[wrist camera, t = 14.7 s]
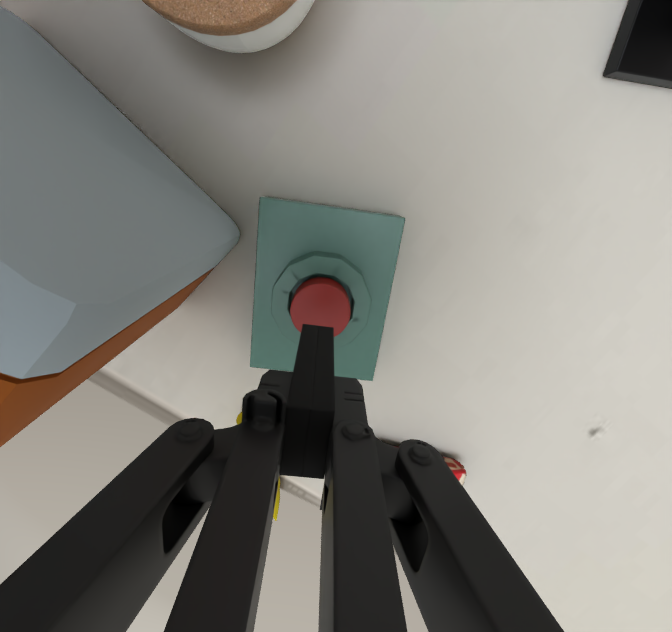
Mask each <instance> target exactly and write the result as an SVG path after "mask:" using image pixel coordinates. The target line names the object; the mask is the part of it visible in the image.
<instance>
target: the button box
mask: <svg viewBox="0 0 672 632" xmlns="http://www.w3.org/2000/svg"><path fill="white" fill-rule="evenodd" d="M404 223H405V218H404V217H401V216H399V215H392V214H385V213H378V212H371V211H364V210H357V209H350V208H343V207H336V206H330V205H323V204H316V203H309V202H302V201H295V200H288V199H281V198H274V197H267V196H265V197H260V202H259V219H258V236H257V253H256V271H255V288H254V305H253V323H252V340H251V357H250V367H256V368H265V369H273V370H282V371H291V372H293V370H294V365H295V360H296V355H297V350H298V345H299V340H300V335H301V333H300V332H299V331H298V330H297V329H296V327H295V326H294V324H293V322H292V320H291V315H290V307H291V303H292V300H293V297H294V294H295V292H296V290H297V289H298V287H299V286H300V285H301V284H302V283H304V282H305V281H307V280H309V279H312V278H316V277H326V278H330V279H333V280H335V281H336V282H338V283H339V284H340V285H342V287H343V288H344V289H345V290H346V292H347V294H348V297H349V302H350V309H351V314H350V320H349V322H348V324H347V326H346V328H345V329H344V330H343V331H342V332H341V333H340V334H338V335H337V336H335V337H334V376H339V377H348V378H356V379H360V380H369V381H373V376H374V371H375V366H376V362H377V357H378V352H379V347H380V342H381V337H382V332H383V327H384V322H385V317H386V312H387V307H388V302H389V297H390V292H391V287H392V282H393V277H394V272H395V267H396V262H397V257H398V252H399V247H400V242H401V238H402V233H403V228H404Z"/></svg>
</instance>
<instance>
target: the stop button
mask: <svg viewBox="0 0 672 632" xmlns="http://www.w3.org/2000/svg"><path fill="white" fill-rule="evenodd" d="M350 314H351V309H350V302H349V297H348V294H347V292H346V290H345V289H344V288H343V287H342V285H340V284H339V283H338V282H336V281H335V280H333V279H330V278H326V277H316V278H312V279H309V280H307V281H305V282H304V283H302V284H301V285H300V286H299V287H298V289H297V290H296V292H295V294H294V297H293V300H292V303H291V307H290V315H291V320H292V322H293V324H294V326H295V327H296V329H297V330H298V331H299V332H300V333H301V330H302V325H303V324H309V325H317V326H326V327H334V337H335V336H337V335H338V334H340V333H341V332H342V331H343V330H344V329H345V328H346V326H347V324H348V322H349V320H350Z"/></svg>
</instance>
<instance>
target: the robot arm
mask: <svg viewBox="0 0 672 632" xmlns="http://www.w3.org/2000/svg"><path fill="white" fill-rule="evenodd" d="M279 475H287V476H298V477H309V478H319V479H324V476H325V482H324V488H323V494H322V500H321V506H320V510H322V534H321V535H322V536H321V566H320V600H319V632H407V628H406V621H405V615H404V609H403V603H402V598H401V592H400V586H399V579H398V573H397V568H396V561H395V555H394V549H393V545H394V548H395V550H396V552H397V555H398V557H399V560H400V562H401V565H402V567H403V570H404V572H405V575H406V577H407V579H408V582H409V585H410V587H411V589H412V592H413V594H414V597H415V599H416V602H417V604H418V607H419V609H420V611H421V614H422V617H423V619H424V622H425V624H426V626H427V629H428V631H429V632H564V631H563V629H562V628H561V627H560V625H559V624H558V622H557V621H556V619H555V618H554V617H553V615H552V614H551V612H550V611H549V609H548V608H547V607H546V605H545V604H544V602H543V601H542V599H541V598H540V596H539V595H538V594H537V592H536V591H535V589H534V588H533V586H532V585H531V584H530V582H529V581H528V579H527V578H526V576H525V575H524V574H523V572H522V571H521V569H520V568H519V566H518V565H517V564H516V562H515V561H514V559H513V558H512V556H511V555H510V554H509V552H508V551H507V549H506V548H505V546H504V545H503V543H502V542H501V541H500V539H499V538H498V536H497V535H496V533H495V532H494V531H493V529H492V528H491V526H490V525H489V523H488V522H487V521H486V519H485V518H484V516H483V515H482V513H481V512H480V511H479V509H478V508H477V506H476V505H475V503H474V502H473V501H472V499H471V498H470V496H469V495H468V493H467V492H466V490H465V489H464V488H463V486H462V485H461V483H460V482H459V480H458V479H457V478H456V476H455V475H454V473H453V472H452V470H451V469H450V468H449V466H448V465H447V463H446V462H445V460H444V459H443V458H442V456H441V455H440V453H439V452H438V451H437V450H436V449H435V448H434V447H433V446H431V445H429V444H428V443H426V442H423V441H420V440H412V439H410V440H406V441H403V442H402V443H401V444H400V445H399V448H398V447H395V446H392V445H389V444H387V443H384V442H382V441H380V440H379V439H377V438H376V437H375V436H374V433H373V430H372V429H371V428H370V427H369V426H368V422H367V415H366V409H365V402H364V396H363V389H362V385H361V384H360V383H359V381H358V380H357V379H356V378H348V377H339V376H334V327H326V326H317V325H309V324H303V325H302V330H301V335H300V340H299V345H298V350H297V355H296V360H295V365H294V370H293V372H287V371H279V370H269V371H267V372H266V373H265V374H264V375H263V376H262V378H261V381H260V384H259V387H258V389H257V390H253V391H251V392H249V393H247V394H246V395H245V397H244V398H243V405H242V422H241V423H240V424H238V425H236V426H233V427H229V428H224V429H216V430H214V427H213V426H212V424H211V423H210V422H208V421H206V420H204V419H199V418H190V419H184V420H181V421H178V422H176V423H175V424H173V425H172V426H170V427H169V428H168V429H167V430H166V431H165V432H164V433H163V434H162V435H160V436H159V437H158V438H157V439H156V440H155V441H154V442H153V443H152V444H151V445H150V446H149V447H148V448H147V449H145V450H144V451H143V452H142V453H141V454H140V455H139V456H138V457H137V458H136V459H135V460H134V461H133V462H132V463H130V464H129V465H128V466H127V467H126V468H125V469H124V470H123V471H122V472H121V473H120V474H119V475H118V476H116V477H115V478H114V479H113V480H112V481H111V482H110V483H109V484H108V485H107V486H106V487H105V488H104V489H102V491H100V492H99V493H98V494H97V495H96V496H95V497H94V498H93V499H92V500H91V501H90V502H88V503H87V504H86V505H85V506H84V507H83V508H82V509H81V510H80V511H79V512H78V513H77V514H76V515H75V516H73V517H72V518H71V519H70V520H69V521H68V522H67V523H66V524H65V525H64V526H63V527H62V528H61V529H60V530H59V531H57V532H56V533H55V534H54V535H53V536H52V537H51V538H50V539H49V540H48V541H47V542H46V543H45V544H44V545H42V546H41V547H40V548H39V549H38V550H37V551H36V552H35V553H34V554H33V555H32V556H30V557H29V558H28V559H27V560H26V561H25V562H24V563H23V564H22V565H21V566H20V567H19V568H18V569H17V570H15V571H14V572H13V573H12V574H11V575H10V576H9V577H8V578H7V579H6V580H5V581H4V582H3V583H2V584H0V632H126V631H127V629H128V628H129V626H130V625H131V623H132V622H133V620H134V619H135V617H136V616H137V614H138V613H139V611H140V610H141V608H142V607H143V605H144V604H145V602H146V601H147V599H148V598H149V597H150V595H151V594H152V592H153V591H154V589H155V588H156V586H157V585H158V583H159V582H160V580H161V579H162V577H163V576H164V574H165V573H166V571H167V570H168V568H169V567H170V565H171V564H172V562H173V561H174V559H175V558H176V556H177V555H178V553H179V552H180V550H181V549H182V547H183V545H184V544H185V543H186V541H187V540H188V538H189V537H190V535H191V534H192V532H193V531H194V529H195V528H196V526H197V525H198V523H199V522H200V520H201V519H202V517H203V516H204V514H205V513H206V511H207V510H208V508H209V507H210V508H209V511H208V514H207V516H206V519H205V522H204V524H203V527H202V530H201V532H200V535H199V538H198V541H197V543H196V546H195V549H194V551H193V554H192V557H191V559H190V562H189V565H188V568H187V571H186V573H185V576H184V578H183V581H182V584H181V587H180V589H179V592H178V595H177V597H176V600H175V603H174V605H173V608H172V611H171V614H170V616H169V619H168V622H167V624H166V627H165V630H164V632H253V631H254V624H255V619H256V613H257V607H258V602H259V595H260V590H261V584H262V578H263V572H264V566H265V561H266V555H267V549H268V543H269V537H270V531H271V525H272V519H273V514H274V508H275V502H276V496H277V490H278V482H279Z"/></svg>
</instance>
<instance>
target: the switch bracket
mask: <svg viewBox="0 0 672 632" xmlns="http://www.w3.org/2000/svg"><path fill="white" fill-rule="evenodd" d="M603 76H604V77H609V78H615V79H621V80H627V81H632V82H638V83H644V84H649V85H655V86H661V87H667V88H672V0H629V3H628V6H627V8H626V11H625V14H624V17H623V20H622V23H621V26H620V29H619V31H618V34H617V37H616V40H615V43H614V46H613V49H612V52H611V55H610V57H609V60H608V63H607V66H606V69H605V72H604V75H603Z"/></svg>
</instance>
